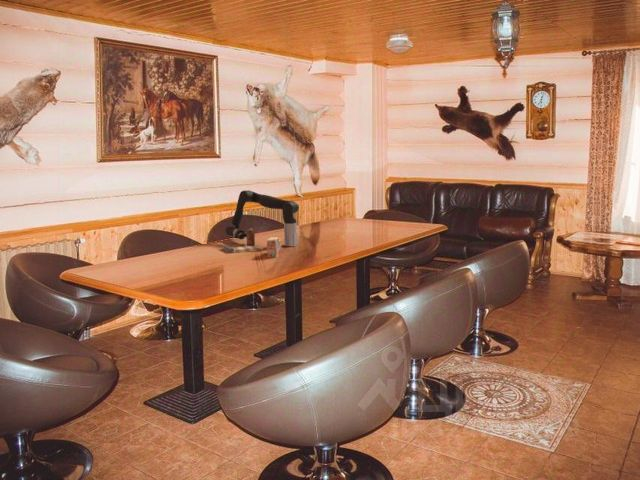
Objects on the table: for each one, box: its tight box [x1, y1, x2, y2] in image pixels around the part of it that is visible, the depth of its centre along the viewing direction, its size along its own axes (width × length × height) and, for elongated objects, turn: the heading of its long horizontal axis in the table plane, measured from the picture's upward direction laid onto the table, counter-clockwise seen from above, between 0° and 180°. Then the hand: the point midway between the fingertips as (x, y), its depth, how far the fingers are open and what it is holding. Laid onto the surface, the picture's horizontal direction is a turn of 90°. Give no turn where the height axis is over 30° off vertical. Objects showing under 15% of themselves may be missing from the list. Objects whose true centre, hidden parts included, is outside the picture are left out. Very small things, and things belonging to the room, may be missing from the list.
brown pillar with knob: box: [246, 228, 256, 246], centre depth 451 cm, size 4×4×14 cm
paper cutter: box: [221, 244, 264, 254], centre depth 443 cm, size 25×17×3 cm
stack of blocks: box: [266, 236, 282, 259], centre depth 424 cm, size 21×6×12 cm, turn 174°
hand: (246, 236), depth 458 cm, fingers open, 8 cm apart
